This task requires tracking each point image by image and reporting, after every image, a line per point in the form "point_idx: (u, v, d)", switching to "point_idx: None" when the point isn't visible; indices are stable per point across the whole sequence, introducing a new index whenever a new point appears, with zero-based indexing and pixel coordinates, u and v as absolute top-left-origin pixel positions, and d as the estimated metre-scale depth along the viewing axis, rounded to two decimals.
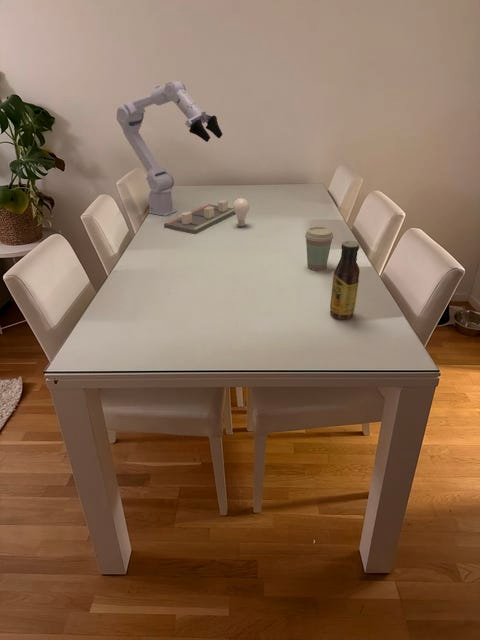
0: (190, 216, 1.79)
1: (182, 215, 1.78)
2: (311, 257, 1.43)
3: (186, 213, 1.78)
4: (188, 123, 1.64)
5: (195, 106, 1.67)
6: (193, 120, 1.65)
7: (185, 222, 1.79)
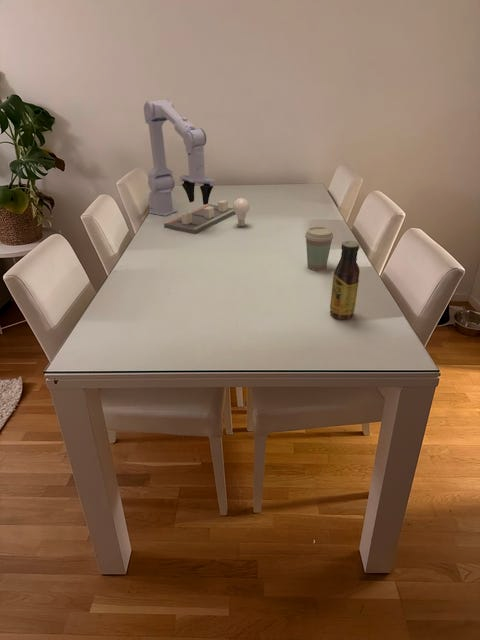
0: (190, 216, 1.79)
1: (182, 215, 1.78)
2: (311, 257, 1.43)
3: (186, 213, 1.78)
4: None
5: (190, 170, 1.65)
6: None
7: (185, 222, 1.79)
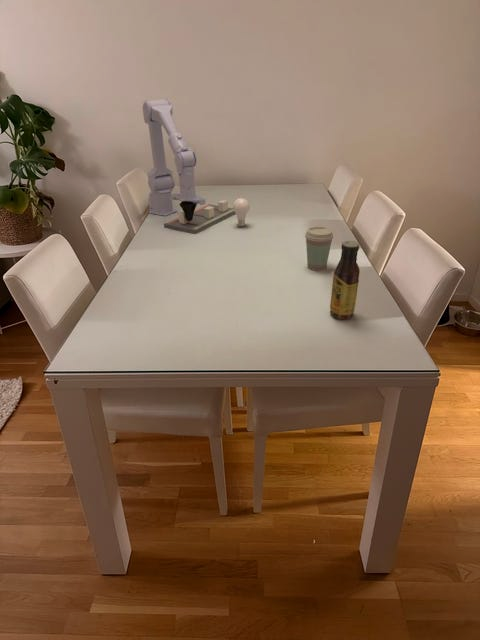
0: None
1: (179, 214, 1.78)
2: (311, 257, 1.43)
3: (183, 212, 1.79)
4: None
5: (181, 189, 1.71)
6: None
7: (182, 221, 1.79)
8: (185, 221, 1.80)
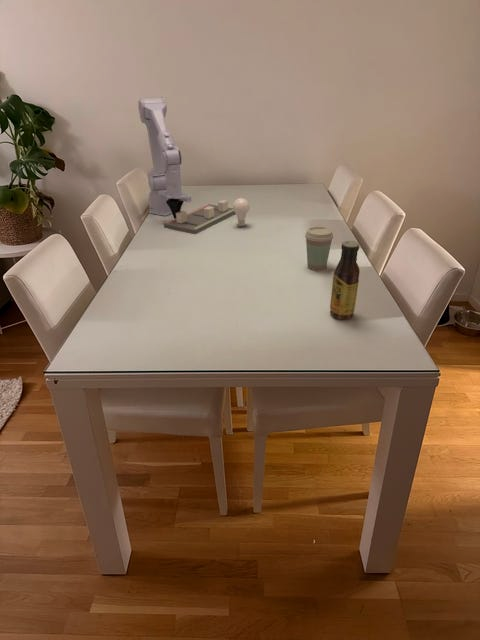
0: (185, 215, 1.80)
1: (177, 214, 1.79)
2: (311, 257, 1.43)
3: (181, 212, 1.80)
4: None
5: (167, 187, 1.74)
6: None
7: (180, 221, 1.80)
8: (182, 220, 1.80)
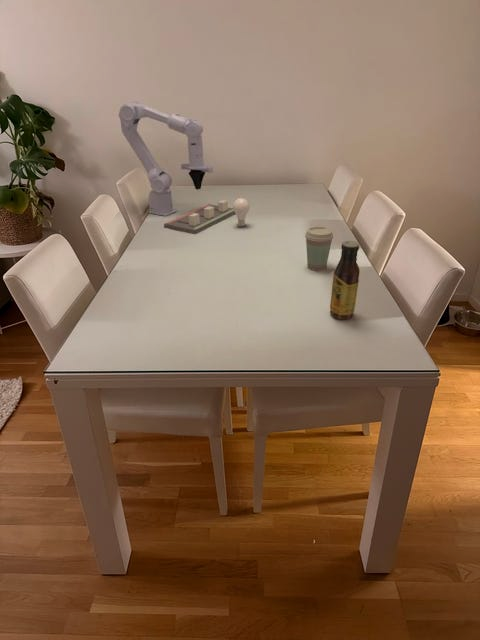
0: (197, 217, 1.78)
1: (189, 216, 1.76)
2: (311, 257, 1.43)
3: (193, 214, 1.77)
4: None
5: (190, 158, 1.83)
6: None
7: (192, 223, 1.77)
8: (195, 223, 1.77)
